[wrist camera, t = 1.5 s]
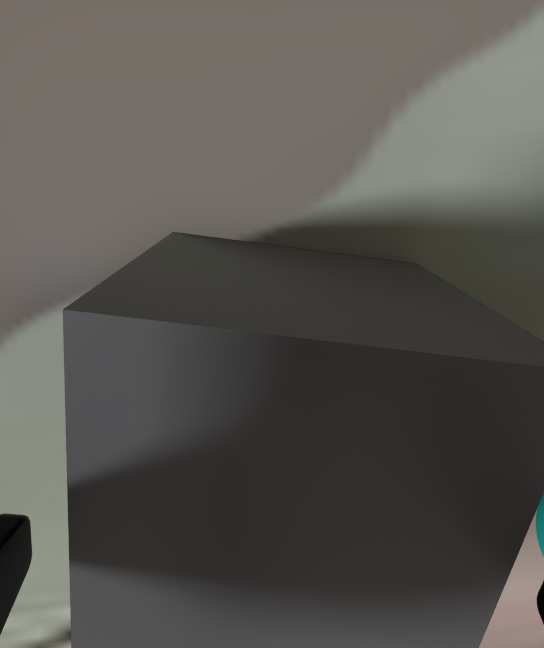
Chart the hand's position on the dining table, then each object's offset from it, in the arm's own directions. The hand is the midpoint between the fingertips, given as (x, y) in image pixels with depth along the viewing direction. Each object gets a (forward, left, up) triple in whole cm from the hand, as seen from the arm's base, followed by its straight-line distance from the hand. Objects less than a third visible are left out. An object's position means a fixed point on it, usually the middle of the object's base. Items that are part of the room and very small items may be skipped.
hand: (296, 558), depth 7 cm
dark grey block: (0, 0, -8) cm, 8 cm away
